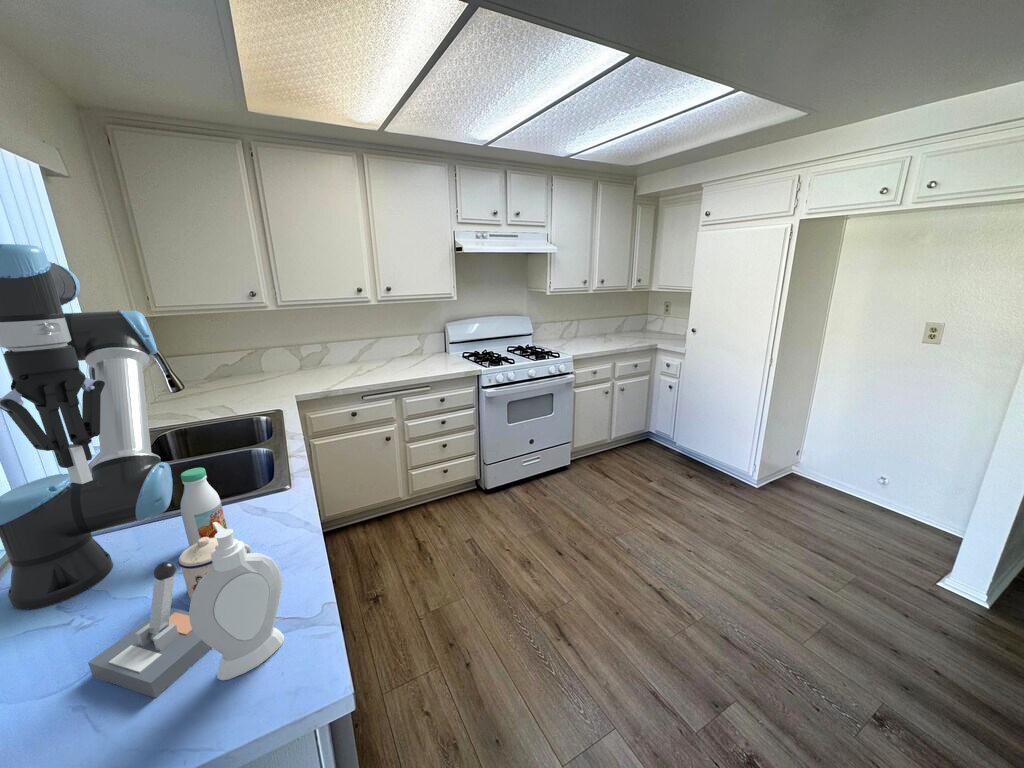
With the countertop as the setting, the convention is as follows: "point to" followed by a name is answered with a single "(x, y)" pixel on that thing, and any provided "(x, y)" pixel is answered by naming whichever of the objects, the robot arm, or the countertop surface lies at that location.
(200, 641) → the switch base
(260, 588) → the soap bottle
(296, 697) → the countertop surface
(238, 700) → the countertop surface
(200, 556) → the teacup with lid
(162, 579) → the lever
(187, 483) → the milk bottle
